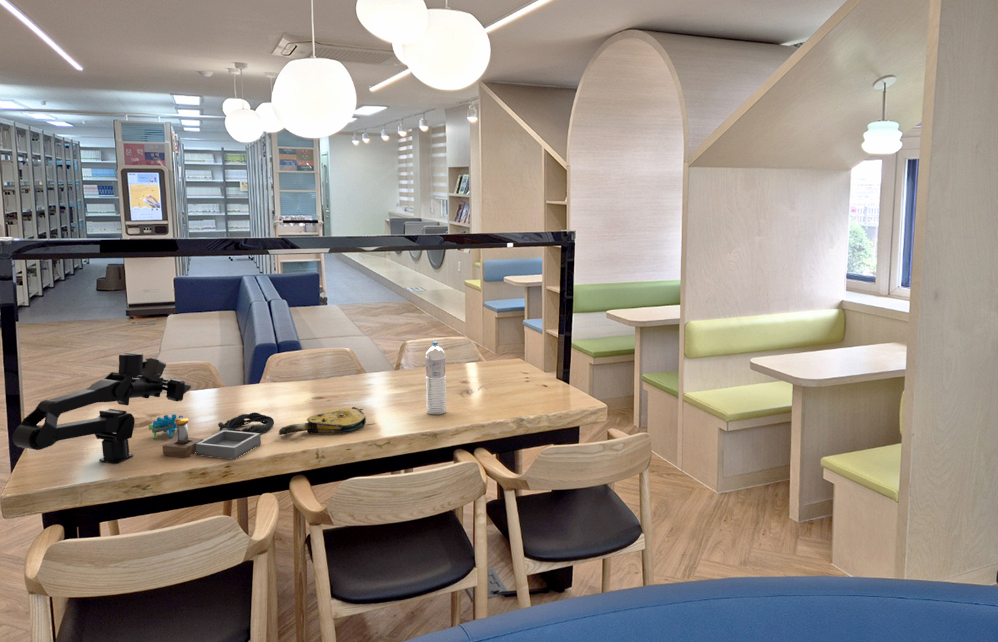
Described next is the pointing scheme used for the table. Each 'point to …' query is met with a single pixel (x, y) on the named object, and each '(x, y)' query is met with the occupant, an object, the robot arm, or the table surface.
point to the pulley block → (330, 422)
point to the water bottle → (435, 380)
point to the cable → (252, 417)
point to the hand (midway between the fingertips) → (179, 384)
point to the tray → (228, 444)
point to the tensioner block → (180, 448)
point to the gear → (164, 425)
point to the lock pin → (182, 430)
